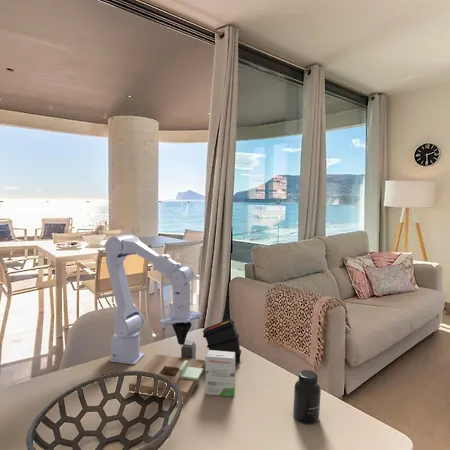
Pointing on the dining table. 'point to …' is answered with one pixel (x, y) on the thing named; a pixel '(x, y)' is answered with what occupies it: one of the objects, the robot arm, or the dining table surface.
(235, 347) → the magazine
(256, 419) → the dining table surface
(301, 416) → the supplement bottle
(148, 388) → the socket board
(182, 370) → the pale green notched block
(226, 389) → the ink box
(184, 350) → the plug
